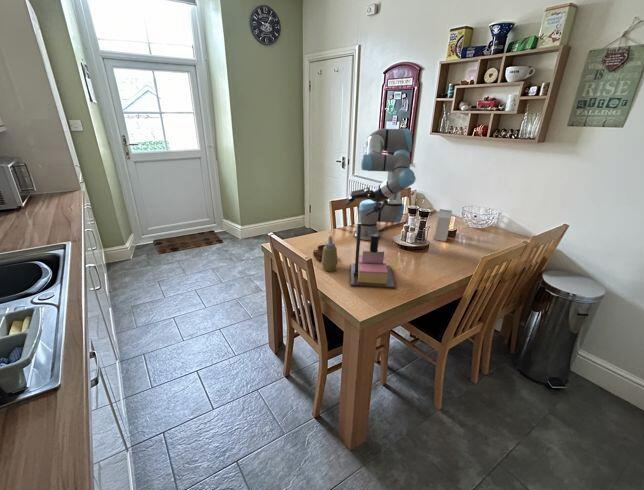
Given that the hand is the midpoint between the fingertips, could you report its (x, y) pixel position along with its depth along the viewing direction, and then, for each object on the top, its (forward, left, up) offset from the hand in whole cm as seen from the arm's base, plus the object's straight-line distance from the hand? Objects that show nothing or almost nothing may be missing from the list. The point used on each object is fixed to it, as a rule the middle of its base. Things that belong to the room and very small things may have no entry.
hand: (356, 208), depth 170 cm
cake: (+9, +23, -27) cm, 37 cm away
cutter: (+9, +23, -21) cm, 32 cm away
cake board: (+9, +23, -27) cm, 37 cm away
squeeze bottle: (+21, +5, -28) cm, 35 cm away
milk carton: (-63, +13, -28) cm, 70 cm away
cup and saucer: (+15, -7, -28) cm, 32 cm away
